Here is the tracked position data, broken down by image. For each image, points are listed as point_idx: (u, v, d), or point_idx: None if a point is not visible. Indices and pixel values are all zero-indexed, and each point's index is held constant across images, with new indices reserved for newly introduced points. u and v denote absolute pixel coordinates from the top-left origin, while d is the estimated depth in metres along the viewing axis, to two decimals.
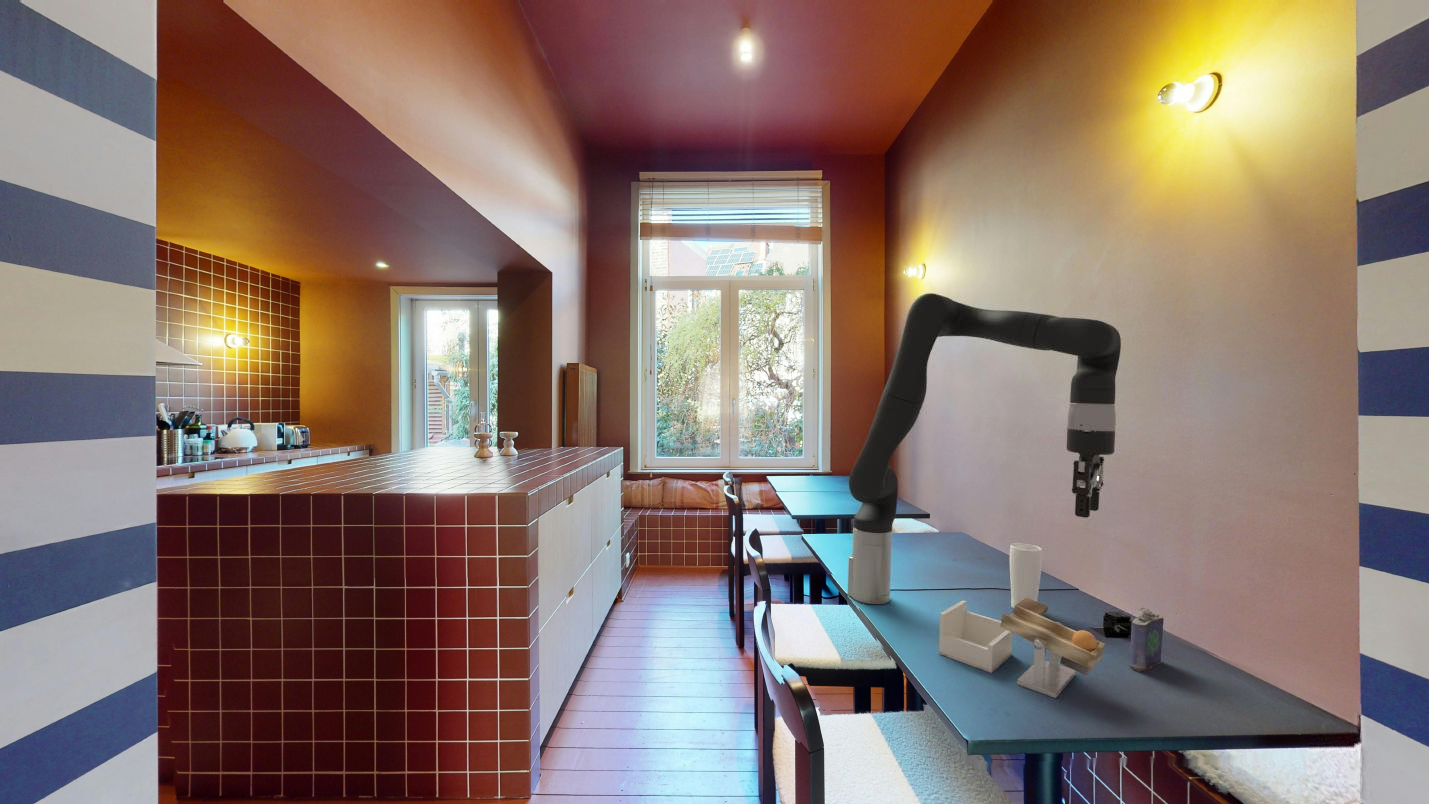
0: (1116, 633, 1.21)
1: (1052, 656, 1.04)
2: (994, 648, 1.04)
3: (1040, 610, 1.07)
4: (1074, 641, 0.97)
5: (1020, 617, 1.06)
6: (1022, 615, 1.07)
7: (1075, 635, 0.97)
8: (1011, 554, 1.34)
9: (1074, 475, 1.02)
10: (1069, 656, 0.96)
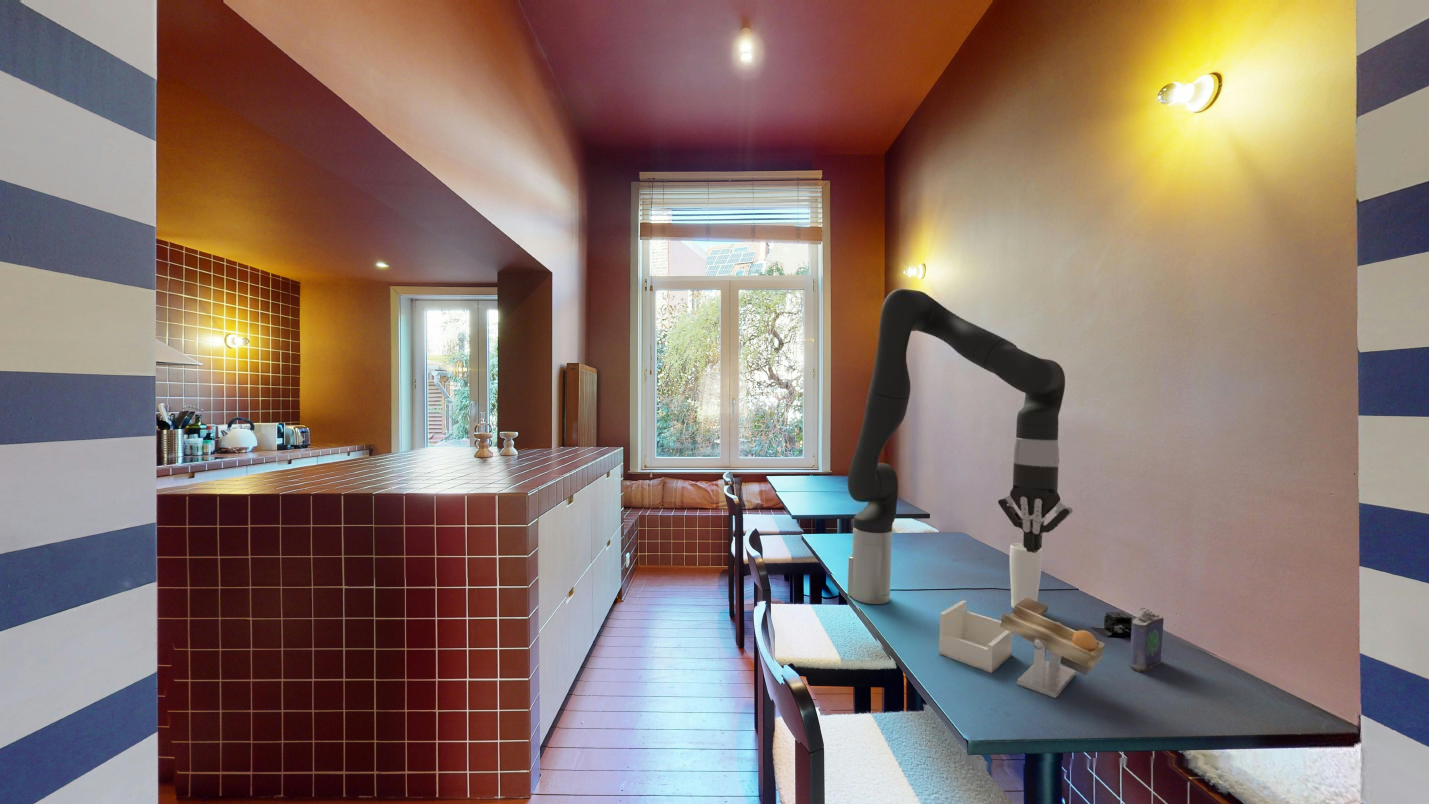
0: (1116, 633, 1.21)
1: (1052, 656, 1.04)
2: (994, 648, 1.04)
3: (1040, 610, 1.07)
4: (1074, 641, 0.97)
5: (1020, 617, 1.06)
6: (1022, 615, 1.07)
7: (1075, 635, 0.97)
8: (1011, 554, 1.34)
9: (1059, 522, 1.05)
10: (1069, 656, 0.96)
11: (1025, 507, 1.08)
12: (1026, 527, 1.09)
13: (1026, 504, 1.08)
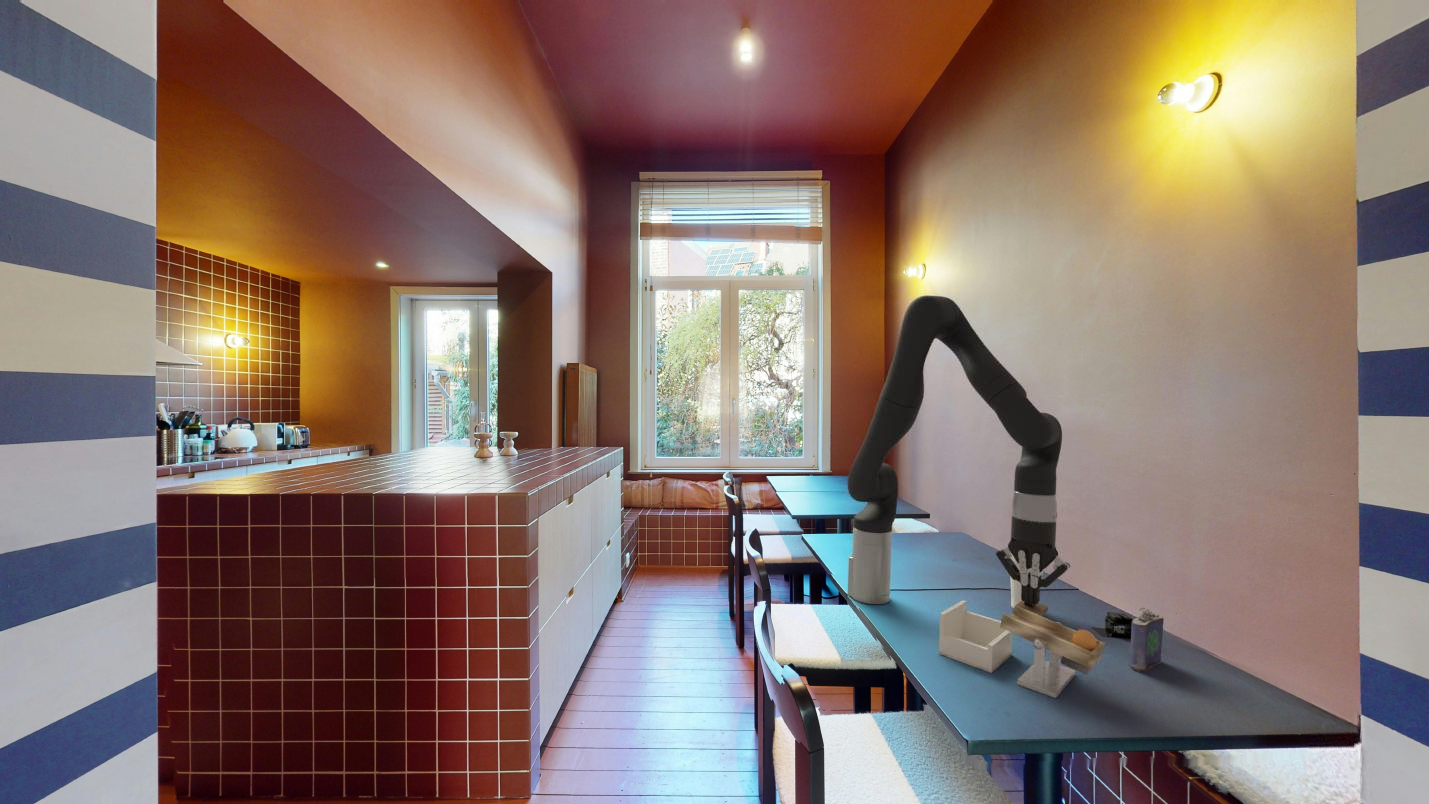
0: (1115, 634, 1.21)
1: (1052, 656, 1.04)
2: (994, 648, 1.04)
3: (1040, 610, 1.07)
4: (1074, 641, 0.97)
5: (1020, 617, 1.06)
6: (1022, 615, 1.07)
7: (1075, 635, 0.97)
8: (1011, 554, 1.34)
9: (1057, 577, 1.05)
10: (1069, 656, 0.96)
11: (1023, 561, 1.09)
12: (1024, 580, 1.09)
13: (1024, 558, 1.08)
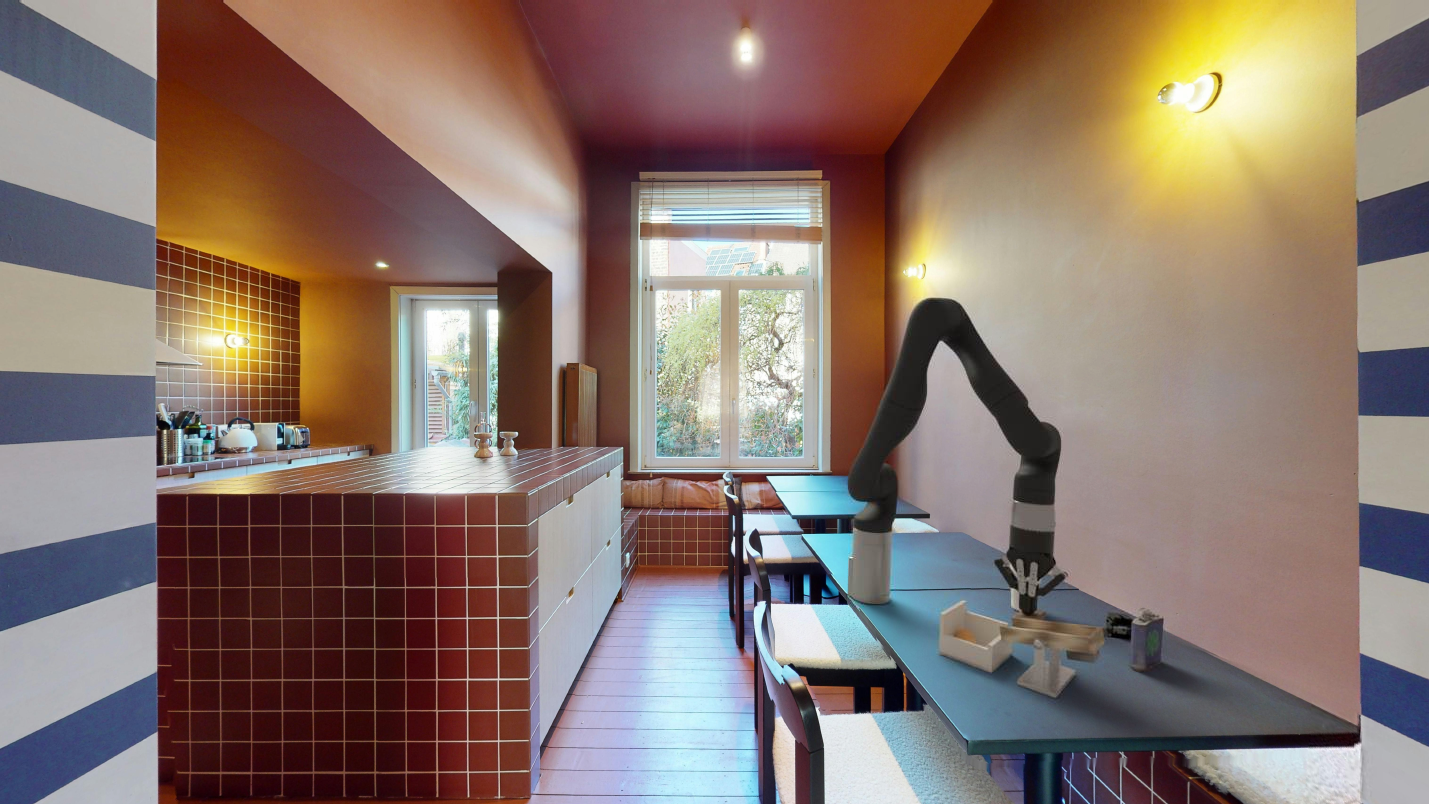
0: (1115, 634, 1.21)
1: (1052, 656, 1.04)
2: (994, 648, 1.04)
3: (1037, 615, 1.08)
4: (956, 637, 1.12)
5: (1020, 627, 1.06)
6: (1021, 625, 1.07)
7: (959, 632, 1.12)
8: None
9: (1055, 586, 1.05)
10: (1071, 647, 0.96)
11: (1021, 569, 1.09)
12: (1021, 589, 1.09)
13: (1022, 567, 1.08)
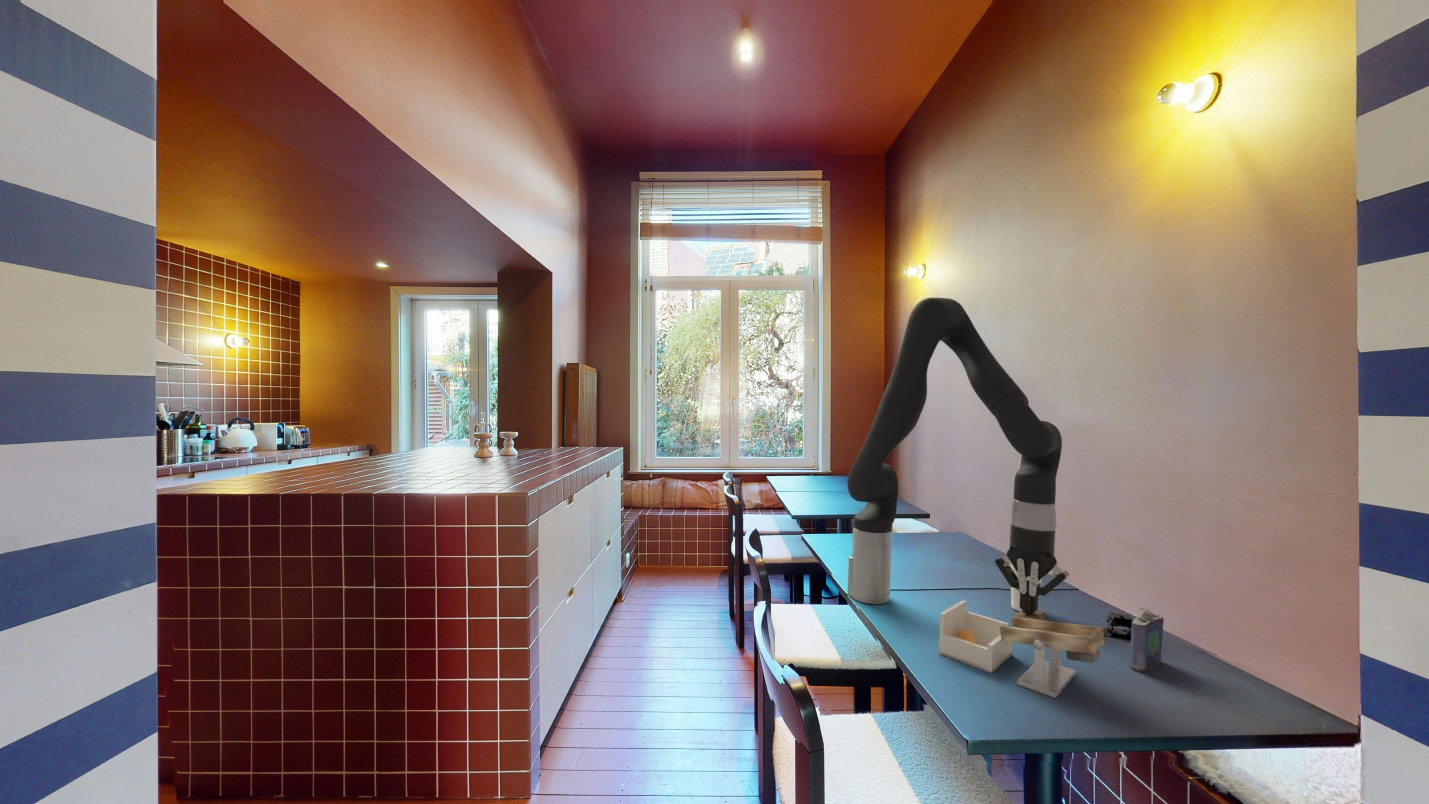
0: (1114, 634, 1.21)
1: (1052, 656, 1.04)
2: (994, 648, 1.04)
3: (1037, 615, 1.08)
4: (958, 636, 1.11)
5: (1020, 627, 1.06)
6: (1021, 625, 1.07)
7: (961, 633, 1.11)
8: None
9: None
10: (1071, 647, 0.96)
11: (1022, 569, 1.09)
12: (1022, 588, 1.09)
13: (1023, 566, 1.08)
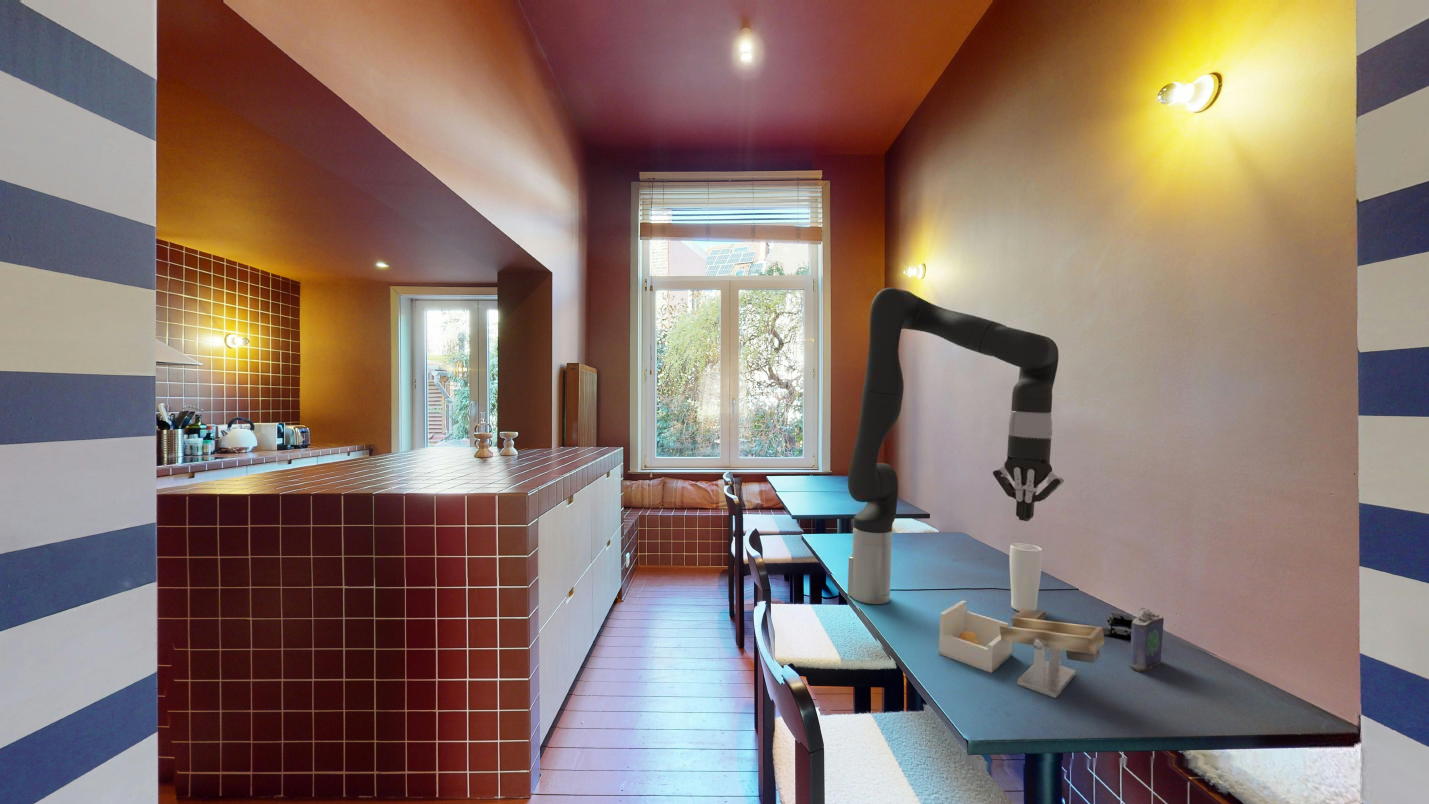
0: (1114, 634, 1.21)
1: (1052, 656, 1.04)
2: (994, 648, 1.04)
3: (1037, 615, 1.08)
4: (961, 636, 1.11)
5: (1020, 627, 1.06)
6: (1021, 625, 1.07)
7: (965, 633, 1.11)
8: (1011, 554, 1.34)
9: (1051, 491, 1.09)
10: (1071, 647, 0.96)
11: (1018, 477, 1.13)
12: (1019, 496, 1.13)
13: (1019, 474, 1.12)
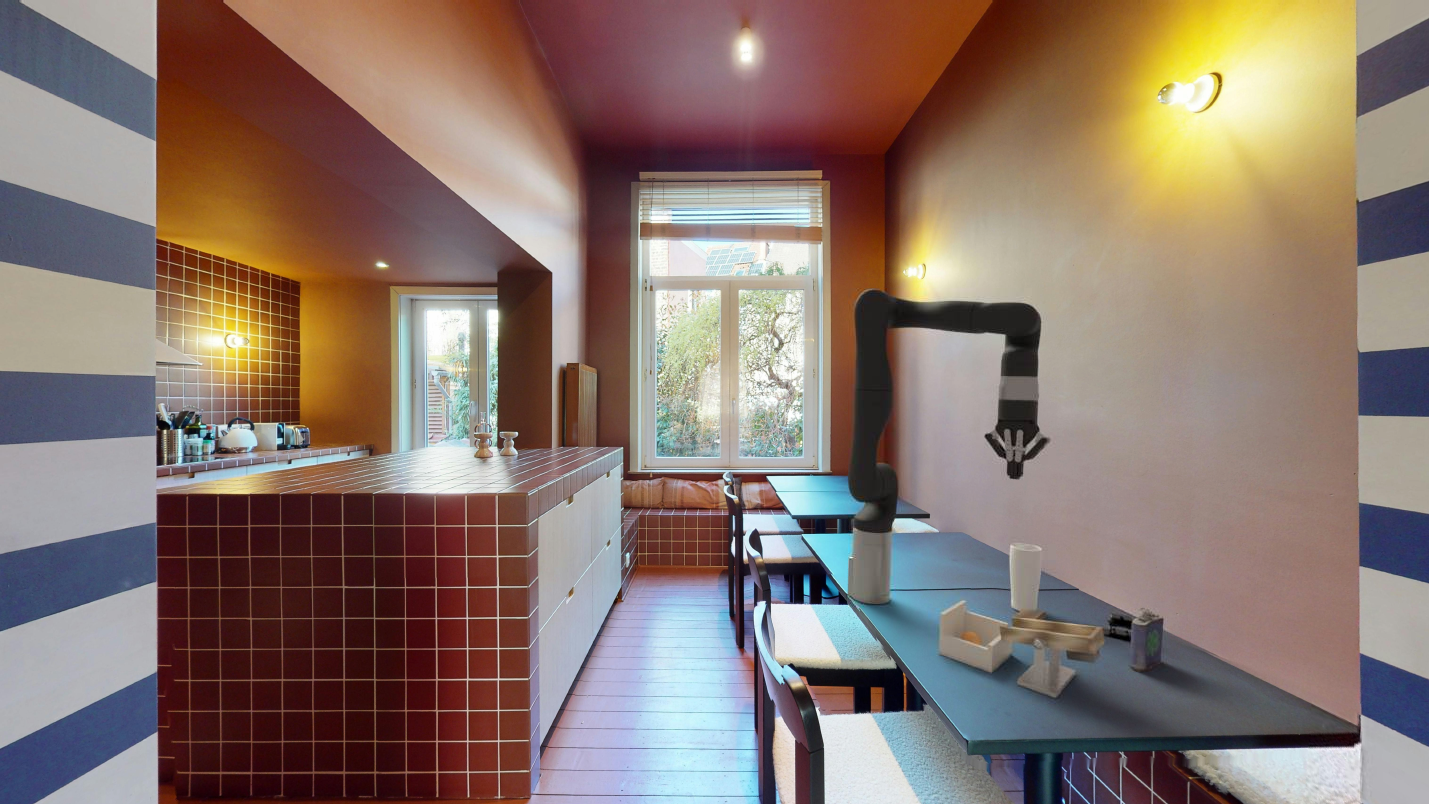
0: (1113, 634, 1.21)
1: (1052, 656, 1.04)
2: (994, 648, 1.04)
3: (1037, 615, 1.08)
4: (963, 636, 1.11)
5: (1020, 627, 1.06)
6: (1021, 625, 1.07)
7: (969, 635, 1.10)
8: (1011, 554, 1.34)
9: (1039, 450, 1.17)
10: (1071, 647, 0.96)
11: (1008, 438, 1.20)
12: (1009, 456, 1.21)
13: (1009, 435, 1.20)
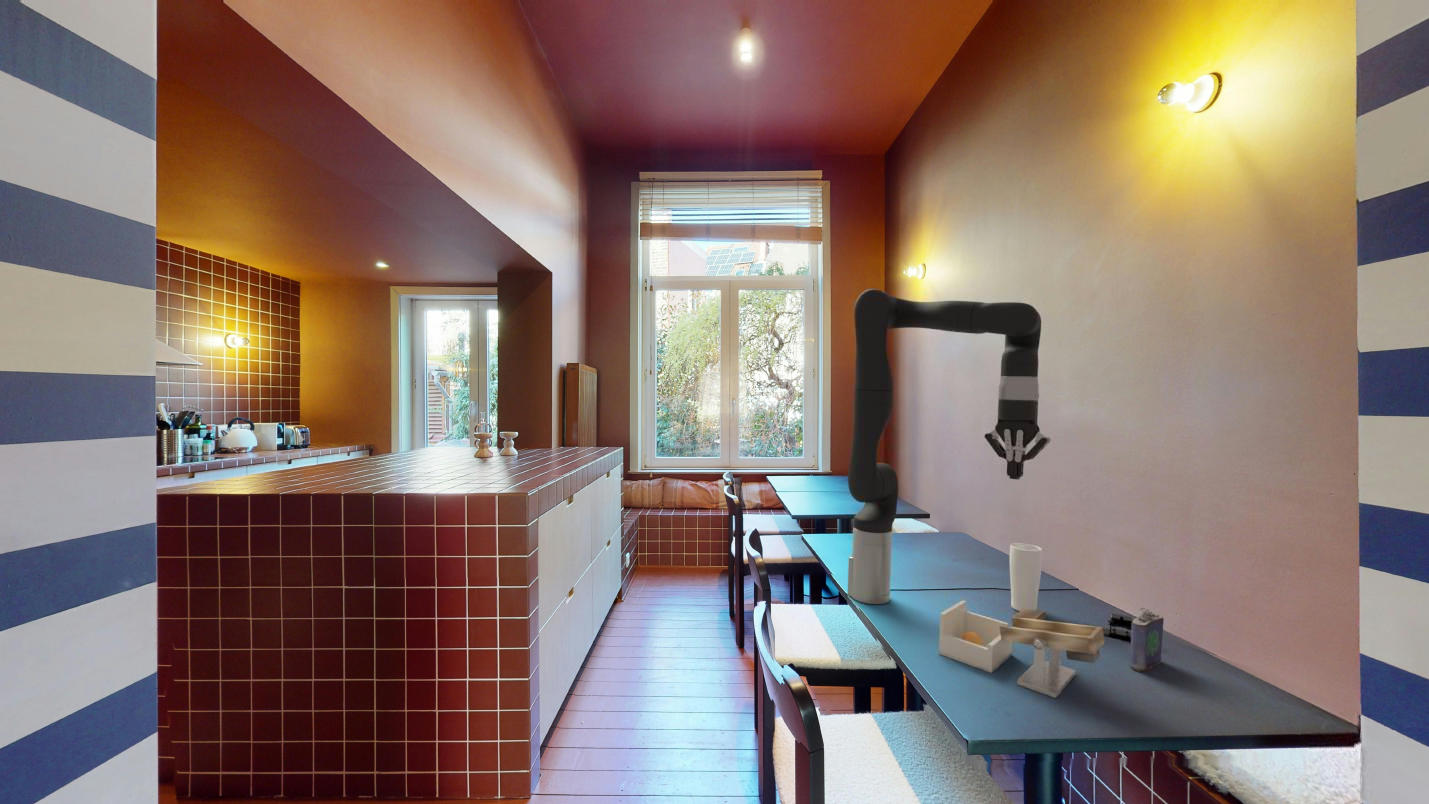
0: (1112, 634, 1.20)
1: (1052, 656, 1.04)
2: (994, 648, 1.04)
3: (1037, 615, 1.08)
4: (965, 636, 1.10)
5: (1020, 627, 1.06)
6: (1021, 625, 1.07)
7: (971, 635, 1.10)
8: (1011, 554, 1.34)
9: (1039, 450, 1.17)
10: (1071, 647, 0.96)
11: (1008, 438, 1.20)
12: (1009, 456, 1.21)
13: (1009, 435, 1.20)
